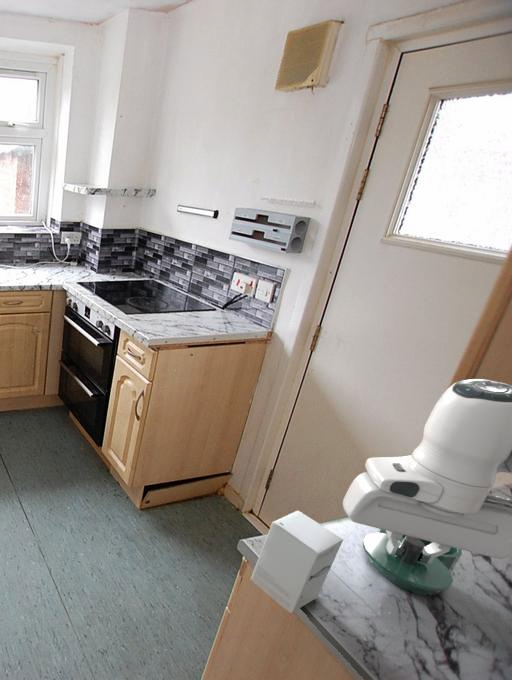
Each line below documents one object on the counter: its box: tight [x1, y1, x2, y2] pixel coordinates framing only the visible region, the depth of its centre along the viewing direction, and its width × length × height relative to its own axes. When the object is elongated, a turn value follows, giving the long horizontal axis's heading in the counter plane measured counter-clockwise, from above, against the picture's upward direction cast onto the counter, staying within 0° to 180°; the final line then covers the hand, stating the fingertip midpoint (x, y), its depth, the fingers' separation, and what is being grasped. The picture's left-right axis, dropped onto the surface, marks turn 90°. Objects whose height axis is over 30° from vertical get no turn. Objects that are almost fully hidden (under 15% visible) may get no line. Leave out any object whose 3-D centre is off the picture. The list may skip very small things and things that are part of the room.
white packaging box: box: [250, 510, 344, 615], centre depth 74 cm, size 7×7×13 cm
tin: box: [367, 528, 463, 596], centre depth 81 cm, size 10×10×8 cm
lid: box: [362, 532, 454, 592], centre depth 72 cm, size 11×11×5 cm
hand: (407, 556), depth 72 cm, fingers closed on lid, 2 cm apart
